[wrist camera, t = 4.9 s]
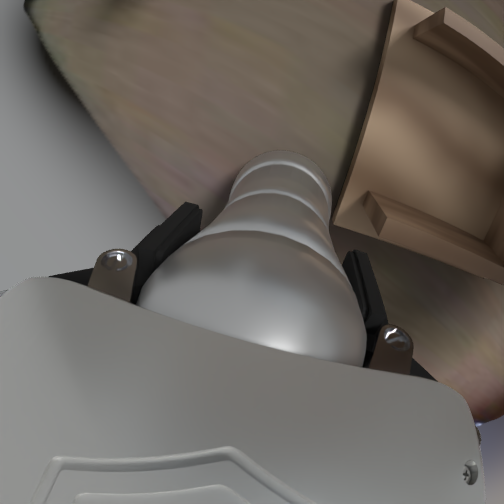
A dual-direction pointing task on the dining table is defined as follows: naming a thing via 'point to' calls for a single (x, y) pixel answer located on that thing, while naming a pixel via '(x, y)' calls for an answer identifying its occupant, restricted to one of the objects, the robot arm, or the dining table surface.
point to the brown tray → (433, 144)
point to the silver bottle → (267, 267)
